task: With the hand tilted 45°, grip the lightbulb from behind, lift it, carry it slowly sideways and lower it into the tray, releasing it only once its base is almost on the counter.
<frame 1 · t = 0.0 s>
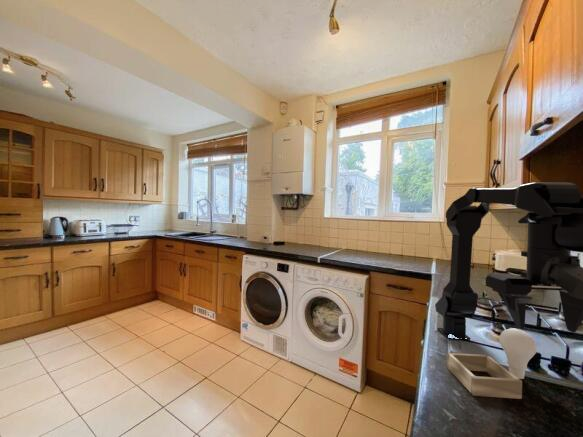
hand: (545, 330, 46), 15 cm above the countertop, tool pointing down, fingers open, 9 cm apart
tray: (480, 381, 53), on the countertop
lightbulb: (516, 379, 54), on the countertop
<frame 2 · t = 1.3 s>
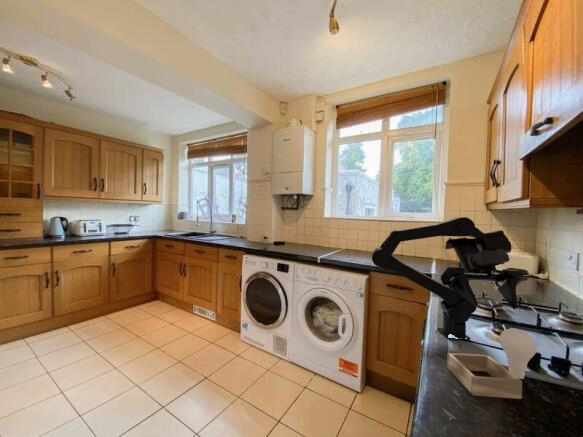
hand: (496, 307, 61), 14 cm above the countertop, tool tilted 45°, fingers open, 9 cm apart
nothing on the countertop moved.
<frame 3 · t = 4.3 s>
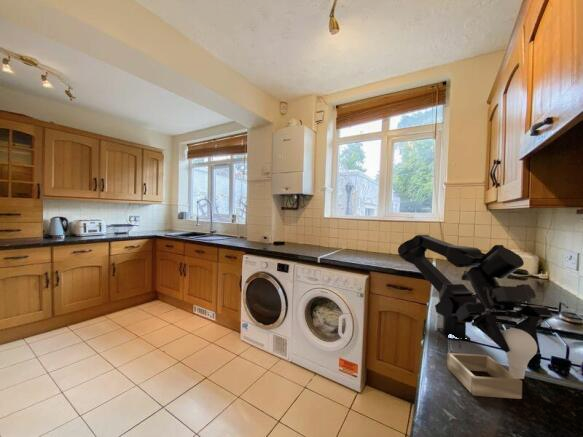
hand: (522, 352, 53), 7 cm above the countertop, tool tilted 45°, fingers closed on lightbulb, 6 cm apart
lightbulb: (516, 379, 54), on the countertop, touching gripper
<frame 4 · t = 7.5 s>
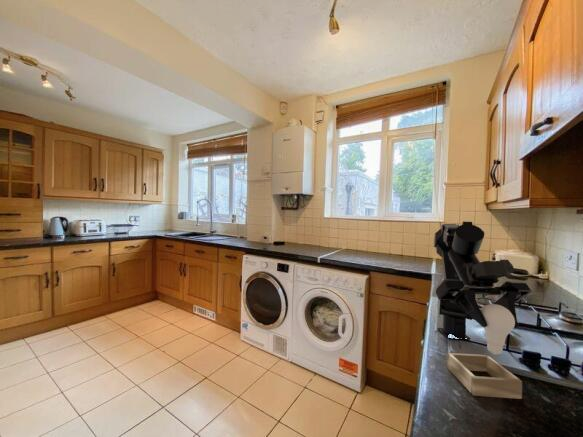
hand: (500, 327, 52), 12 cm above the countertop, tool tilted 45°, fingers closed on lightbulb, 6 cm apart
lightbulb: (494, 355, 53), point 6 cm above the countertop, touching gripper
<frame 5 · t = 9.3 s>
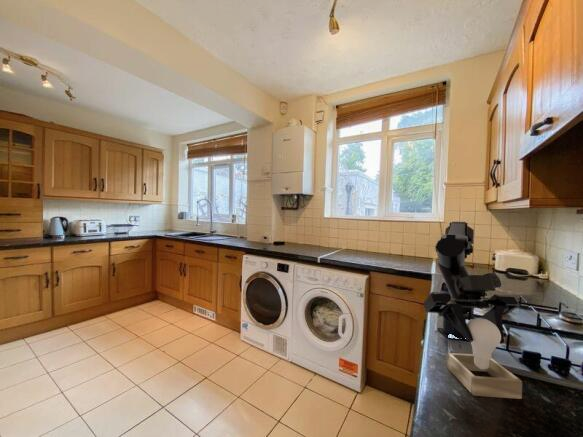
hand: (486, 342, 52), 9 cm above the countertop, tool tilted 45°, fingers closed on lightbulb, 6 cm apart
lightbulb: (481, 369, 53), point 3 cm above the countertop, touching gripper
when the fingers open (7 cm above the countertop, at t = 10.8 s): lightbulb stays where it is, resting in tray.
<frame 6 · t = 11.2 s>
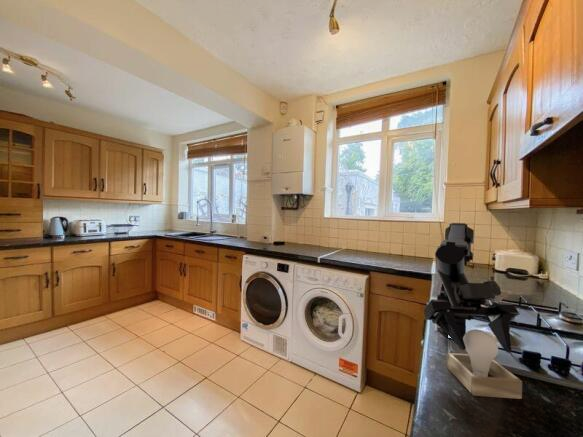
hand: (486, 350, 51), 8 cm above the countertop, tool tilted 45°, fingers open, 9 cm apart
lightbulb: (480, 381, 53), resting in tray
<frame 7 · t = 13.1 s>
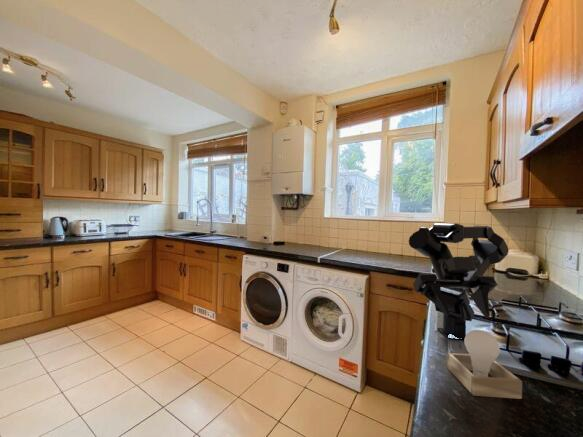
hand: (467, 316, 58), 12 cm above the countertop, tool tilted 45°, fingers open, 9 cm apart
nothing on the countertop moved.
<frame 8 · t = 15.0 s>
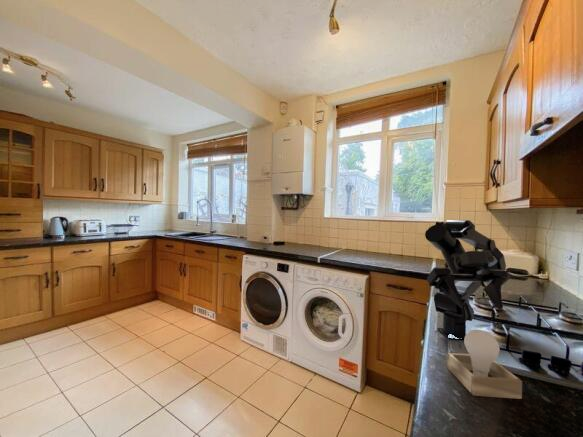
hand: (481, 307, 60), 14 cm above the countertop, tool tilted 45°, fingers open, 9 cm apart
nothing on the countertop moved.
at the end: lightbulb 0.2 cm off-centre on the tray, point 0.0 cm above the tray's base; lightbulb tilted 0°; the gripper is holding nothing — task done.
